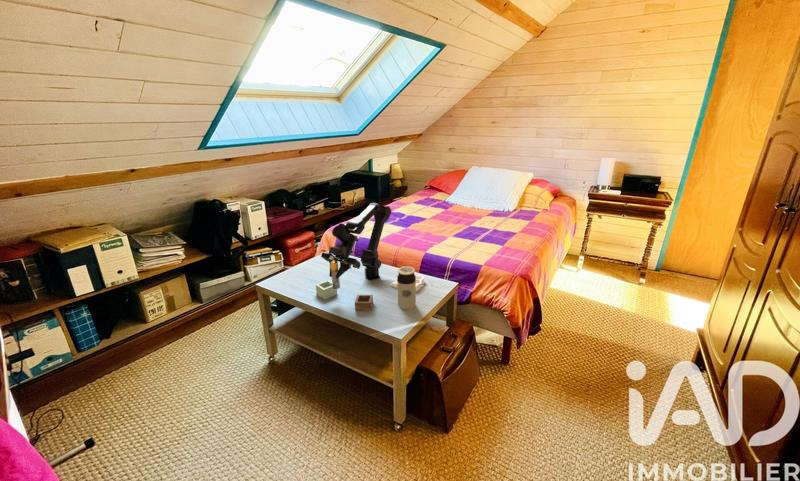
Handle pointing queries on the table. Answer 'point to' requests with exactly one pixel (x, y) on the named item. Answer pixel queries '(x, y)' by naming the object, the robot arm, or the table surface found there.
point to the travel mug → (406, 288)
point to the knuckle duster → (418, 282)
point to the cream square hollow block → (325, 289)
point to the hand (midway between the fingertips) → (333, 277)
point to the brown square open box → (363, 303)
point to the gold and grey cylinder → (334, 274)
